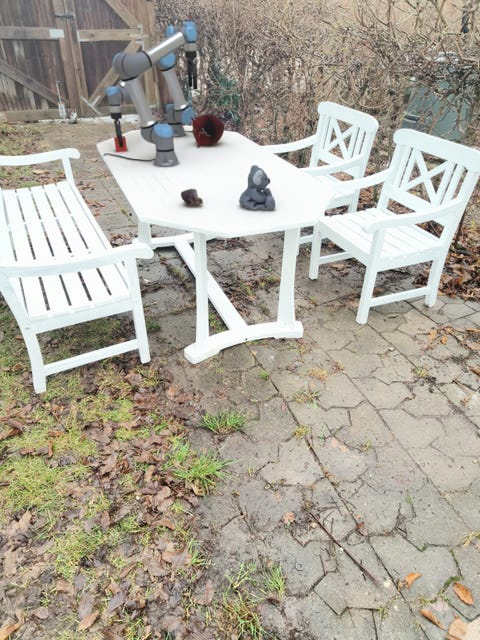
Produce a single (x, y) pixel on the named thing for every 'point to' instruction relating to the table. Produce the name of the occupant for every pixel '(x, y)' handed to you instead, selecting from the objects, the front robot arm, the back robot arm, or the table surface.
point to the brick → (118, 149)
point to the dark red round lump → (207, 129)
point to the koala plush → (257, 191)
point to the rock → (191, 197)
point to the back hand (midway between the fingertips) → (120, 144)
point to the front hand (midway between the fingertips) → (192, 88)
